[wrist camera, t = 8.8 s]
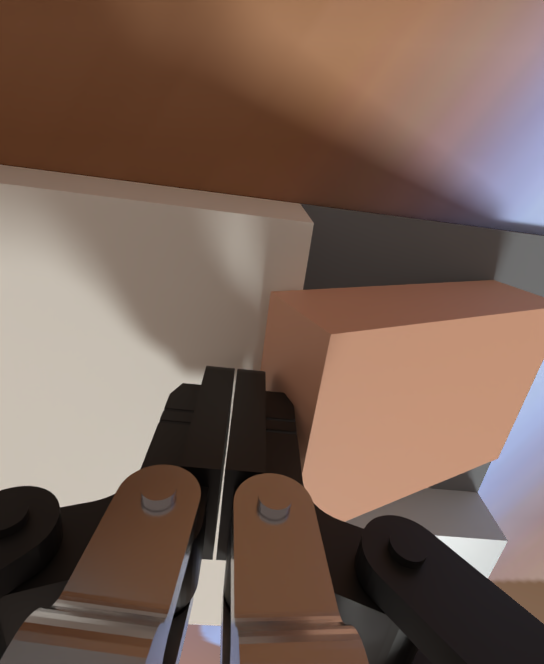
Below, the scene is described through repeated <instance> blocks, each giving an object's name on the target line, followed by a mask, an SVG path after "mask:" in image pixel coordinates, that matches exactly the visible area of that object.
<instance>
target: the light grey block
mask: <svg viewBox="0 0 544 664" xmlns="http://www.w3.org/2000/svg"><path fill="white" fill-rule="evenodd" d="M384 515H395V516H401V517H404V518H408V519H410V520H412V521H415V522H416V523H418V524H420V525H422V526H423V527H425V528H426V529H427V530H429V531H430V532H431V533H432V534H434V535H435V536H436V537H437V538H439V539H440V540H441V541H442V542H443V543H445V544H446V545H447V546H448V547H450V548H451V549H452V550H453V551H454V552H456V553H457V554H458V555H459V556H461V557H462V558H463V559H464V560H466V561H467V562H468V563H469V564H470V565H472V566H473V567H474V568H475V569H477V570H478V571H479V572H480V573H481V574H483V575H484V576H485V577H486V578H488V577H489V575H490V574H491V572H492V570H493V568H494V566H495V564H496V562H497V560H498V558H499V557H500V555H501V553H502V551H503V549H504V547H505V545H506V543H507V541H508V540H507V539H506V537H505V536H504V534H503V532H502V531H501V529H500V528H499V526H498V524H497V523H496V521H495V520H494V518H493V517H492V515H491V513H490V512H489V510H488V509H487V507H486V505H485V504H484V502H483V501H482V499H481V497H480V496H479V494H478V493H477V492H468V491H456V490H443V489H431V488H425V489H423V490H420V491H418V492H416V493H413V494H411V495H408V496H406V497H403V498H401V499H399V500H396V501H394V502H391V503H389V504H387V505H384V506H382V507H379V508H377V509H374V510H372V511H370V512H367V513H365V514H362V515H360V516H357V517H355V518H353V519H350V520H348V521H345V522H347V523H349V524H352V525H355V526H358V527H360V528H363V529H364V528H365V526H366V525H367V524H368V523H369V522H370V521H371V520H373V519H374V518H376V517H379V516H384Z"/></svg>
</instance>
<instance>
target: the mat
mask: <svg viewBox="0 0 544 664" xmlns="http://www.w3.org/2000/svg"><path fill="white" fill-rule="evenodd" d="M301 206H302V207H303V208H304V210H305V211H306V213H307V214H308V216H309V217H310V218H311V220H312V221H313V223H314V226H313V232H312V238H311V244H310V250H309V256H308V262H307V268H306V274H305V280H304V286H303V290H310V289H329V288H348V287H367V286H387V285H406V284H425V283H444V282H463V281H482V280H495V281H498V282H501V283H504V284H507V285H510V286H513V287H516V288H519V289H521V290H524V291H527V292H530V293H533V294H536V295H539V296H542V297H544V235H538V234H530V233H522V232H515V231H507V230H499V229H492V228H484V227H476V226H469V225H461V224H453V223H446V222H438V221H430V220H422V219H415V218H407V217H399V216H392V215H384V214H376V213H369V212H361V211H353V210H346V209H338V208H330V207H322V206H315V205H307V204H301ZM490 463H491V462H488V463H486V464H483V465H481V466H479V467H476V468H474V469H471V470H469V471H466V472H464V473H462V474H459V475H457V476H454V477H452V478H450V479H447V480H445V481H442V482H440V483H437V484H435V485H433V486H430V487H428V488H431V489H443V490H456V491H468V492H478V490H479V487H480V485H481V483H482V481H483V478H484V476H485V474H486V472H487V470H488V467H489V465H490Z"/></svg>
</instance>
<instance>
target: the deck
mask: <svg viewBox="0 0 544 664" xmlns="http://www.w3.org/2000/svg"><path fill="white" fill-rule="evenodd" d="M313 226H314V223H313V221H312V220H311V218H310V217H309V216H308V214H307V213H306V211H305V210H304V208H303V207H302V206H301V204H299V203H292V202H284V201H276V200H269V199H261V198H253V197H246V196H238V195H230V194H222V193H215V192H207V191H199V190H192V189H184V188H176V187H169V186H161V185H153V184H146V183H138V182H130V181H123V180H115V179H107V178H99V177H92V176H84V175H76V174H69V173H61V172H53V171H46V170H38V169H30V168H23V167H15V166H7V165H0V491H1V490H4V489H7V488H12V487H18V486H36V487H40V488H44V489H46V490H48V491H50V492H51V493H52V494H54V495H55V497H56V498H57V499H58V502H59V505H60V507H65V506H70V505H76V504H81V503H87V502H92V501H96V500H100V499H103V498H106V497H109V496H111V495H113V494H115V493H116V491H117V489H118V488H119V486H120V485H121V483H122V482H123V481H124V480H125V479H126V478H127V477H129V476H130V475H131V474H133V473H134V472H136V471H138V470H140V469H141V466H142V464H143V461H144V459H145V456H146V453H147V451H148V448H149V446H150V443H151V441H152V438H153V435H154V433H155V430H156V428H157V425H158V423H159V422H160V418H161V415H162V412H163V411H164V407H165V405H166V402H167V400H168V397H169V394H170V393H171V392H173V391H174V390H175V389H176V388H177V387H179V386H180V385H181V384H182V383H188V384H199V385H201V383H202V380H203V376H204V372H205V369H206V366H216V367H226V368H235V373H234V383H233V393H232V403H231V413H230V423H229V432H228V441H229V433H230V425H231V417H232V409H233V400H234V392H235V384H236V376H237V369H247V370H257V371H260V370H261V362H262V355H263V347H264V339H265V332H266V324H267V316H268V309H269V301H270V293H271V292H272V291H291V290H303V286H304V280H305V274H306V268H307V262H308V256H309V250H310V244H311V238H312V232H313ZM228 441H227V449H228ZM227 449H226V457H225V465H224V473H223V481H222V489H221V496H220V504H219V512H218V520H217V528H216V536H215V544H214V552H213V560H206V559H202V561H201V567H200V574H199V580H198V585H197V589H196V591H195V594H194V598H193V605H192V609H191V613H190V618H189V622H188V624H196V625H214V626H221V605H222V596H223V587H224V576H225V566H226V561H225V560H216V554H217V545H218V535H219V525H220V515H221V505H222V495H223V485H224V475H225V466H226V458H227Z"/></svg>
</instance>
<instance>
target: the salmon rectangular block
mask: <svg viewBox="0 0 544 664" xmlns="http://www.w3.org/2000/svg"><path fill="white" fill-rule="evenodd" d="M543 359H544V297H542V296H539V295H536V294H533V293H530V292H527V291H524V290H521V289H519V288H516V287H513V286H510V285H507V284H504V283H501V282H498V281H495V280H482V281H463V282H444V283H425V284H406V285H387V286H367V287H348V288H329V289H310V290H291V291H272V292H271V293H270V301H269V309H268V316H267V324H266V332H265V339H264V347H263V355H262V362H261V370H260V371H265V373H266V391H272V392H282V393H285V394H286V396H287V397H288V398H289V400H290V401H291V402H292V404H293V405H294V411H295V423H296V428H297V436H298V445H299V453H300V462H301V470H302V478H303V485H304V488H305V489H306V490H307V491H308V493H309V494H310V496H311V498H312V501H313V503H314V504H315V505H316V506H317V507H318V508H319V509H321V510H322V511H324V512H325V513H327V514H328V515H330V516H332V517H334V518H336V519H339V520H341V521H344V522H345V521H348V520H350V519H353V518H355V517H357V516H360V515H362V514H365V513H367V512H370V511H372V510H374V509H377V508H379V507H382V506H384V505H387V504H389V503H391V502H394V501H396V500H399V499H401V498H403V497H406V496H408V495H411V494H413V493H416V492H418V491H420V490H423V489H425V488H428V487H430V486H433V485H435V484H437V483H440V482H442V481H445V480H447V479H450V478H452V477H454V476H457V475H459V474H462V473H464V472H466V471H469V470H471V469H474V468H476V467H479V466H481V465H483V464H486V463H488V462H491V461H493V460H496V459H498V457H499V455H500V453H501V450H502V448H503V446H504V444H505V442H506V440H507V437H508V435H509V433H510V431H511V429H512V426H513V424H514V422H515V420H516V418H517V416H518V413H519V411H520V409H521V407H522V405H523V403H524V400H525V398H526V396H527V394H528V392H529V389H530V387H531V385H532V383H533V381H534V379H535V376H536V374H537V372H538V370H539V368H540V366H541V363H542V361H543Z"/></svg>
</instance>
